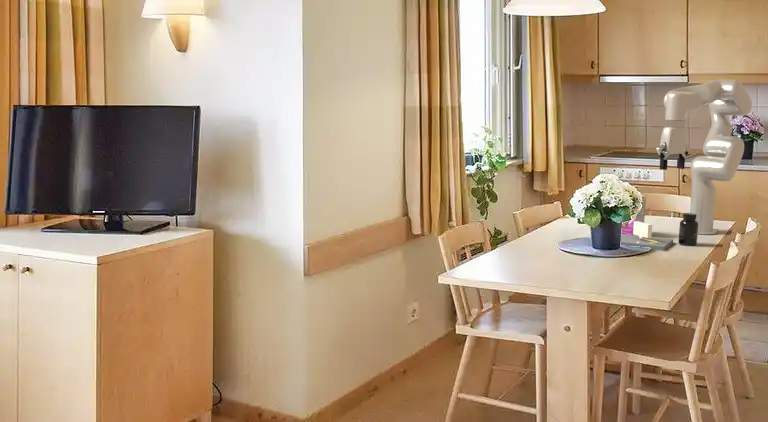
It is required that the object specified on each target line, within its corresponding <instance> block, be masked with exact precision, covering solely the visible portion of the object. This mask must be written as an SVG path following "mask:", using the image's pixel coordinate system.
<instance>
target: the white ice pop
mask: <svg viewBox="0 0 768 422" xmlns="http://www.w3.org/2000/svg"><path fill="white" fill-rule="evenodd" d="M652 233H653V224H651V223H646V222H644V223H643V222H639V221H634V227H633V234H634V235H638V236H639V239H644V240H648V241H652V242H656V243H658V241H654V240H650V239H646V238H651V237H653V235H652ZM645 237H646V238H645Z"/></svg>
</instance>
